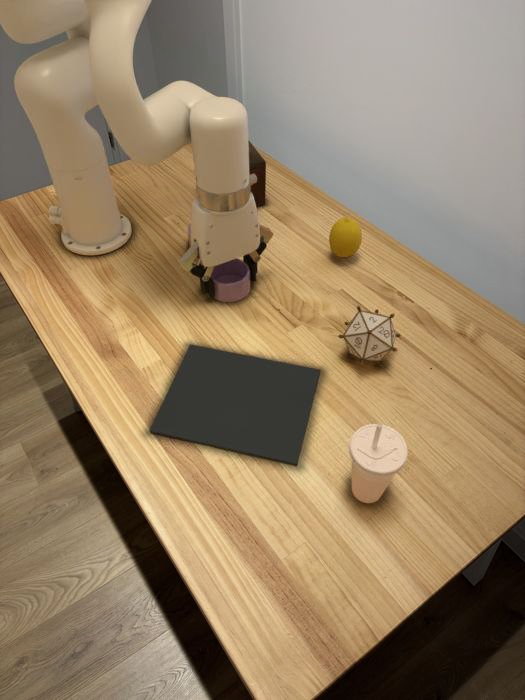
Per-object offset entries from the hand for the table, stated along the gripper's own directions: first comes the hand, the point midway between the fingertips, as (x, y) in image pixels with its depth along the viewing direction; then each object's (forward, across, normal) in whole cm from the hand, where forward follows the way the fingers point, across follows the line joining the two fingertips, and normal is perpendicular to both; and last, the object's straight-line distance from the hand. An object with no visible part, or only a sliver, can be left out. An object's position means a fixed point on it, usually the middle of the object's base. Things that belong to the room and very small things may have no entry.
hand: (229, 284), depth 92 cm
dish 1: (+1, -2, -12) cm, 12 cm away
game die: (+1, -11, +23) cm, 26 cm away
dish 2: (+1, 0, 0) cm, 1 cm away
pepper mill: (+1, -13, -21) cm, 25 cm away
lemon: (+1, -21, +3) cm, 21 cm away
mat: (+1, +10, +21) cm, 23 cm away
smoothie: (+1, +3, +41) cm, 41 cm away
